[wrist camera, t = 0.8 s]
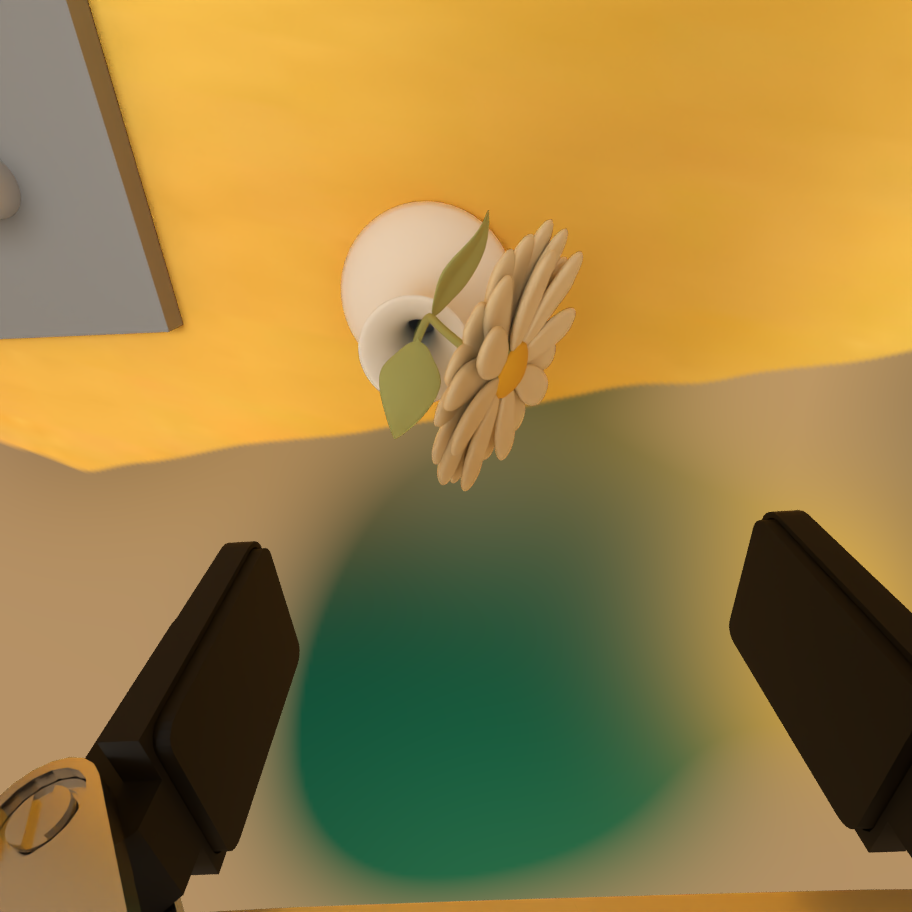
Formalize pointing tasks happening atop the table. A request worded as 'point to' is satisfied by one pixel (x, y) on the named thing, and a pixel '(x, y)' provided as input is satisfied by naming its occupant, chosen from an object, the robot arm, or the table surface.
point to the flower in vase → (456, 325)
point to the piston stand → (70, 187)
